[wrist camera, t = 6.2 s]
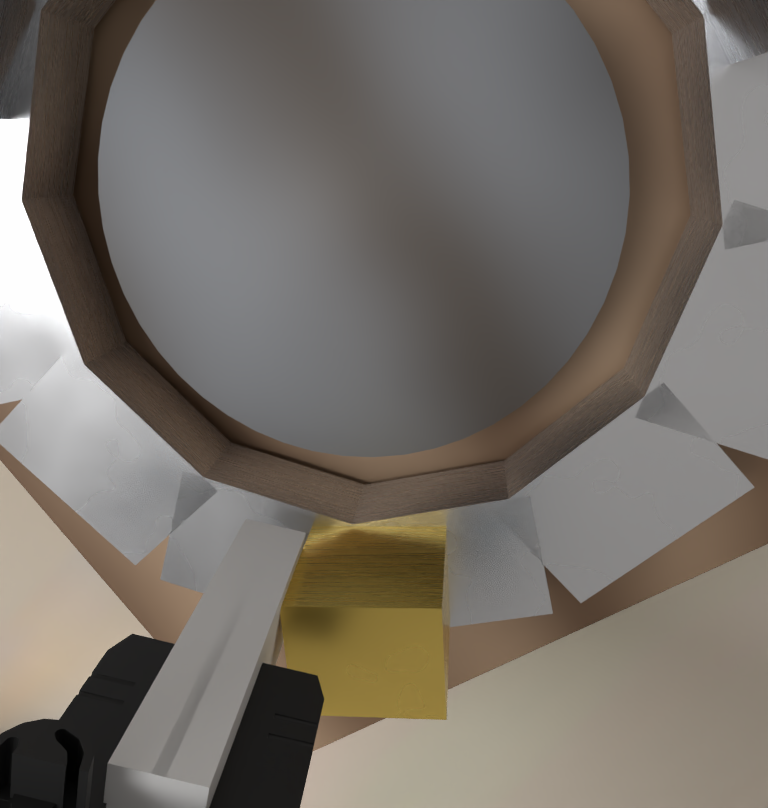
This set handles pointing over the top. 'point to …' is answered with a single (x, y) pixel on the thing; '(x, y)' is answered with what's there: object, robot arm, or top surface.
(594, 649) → the top surface
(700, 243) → the grey block ring
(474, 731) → the top surface
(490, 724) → the top surface
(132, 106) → the walnut base
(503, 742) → the top surface
